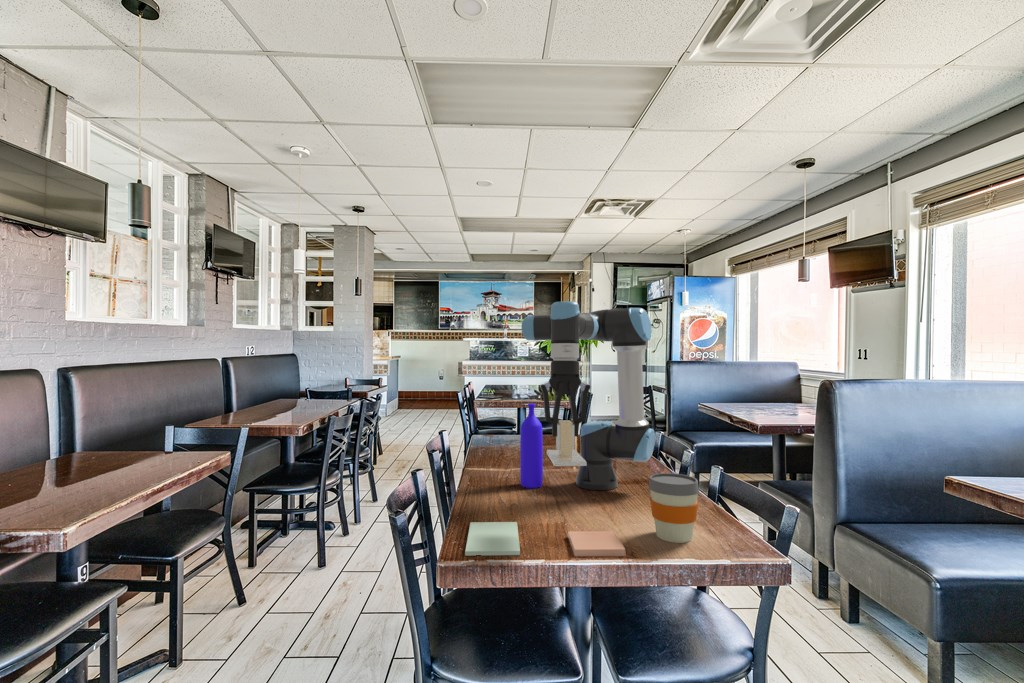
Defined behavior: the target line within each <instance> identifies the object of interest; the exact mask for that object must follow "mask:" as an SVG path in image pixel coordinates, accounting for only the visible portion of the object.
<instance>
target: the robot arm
mask: <svg viewBox="0 0 1024 683" xmlns="http://www.w3.org/2000/svg"><path fill="white" fill-rule="evenodd" d="M521 322H522V323H521V333H522V336H523V337H524V339H525V340H527V341H534V342H535V341H536V342H537V341H550V359H552V361H550V377H549V379H548V381H547V382H545V383H542V384H540V386H539V388H540V390H541V392H542V399H543V409H544V410H543V411H544V420H545V421H546V422H547V423H550V424H551V435H552V437H555V450H560V424H559V415H560V408H561V401H562V397H563V396H564V395H567V397H568V400H569V408H570V413H571V415H570V416H571V420H572V450H575V437H580V439H579V440H580V455H581V456H582V458H583V459H584V460H585V461H586V462H587V466H578V467H579V468H578V470H577V474H576V477H575V483H576V484H575V485H576V486H577V487H579V488H582V489H584V490H585V489H586V490H591V491H592V490H593V491H608V490H614V489H616V488H617V487H618V485H619V484H618V478H617V474H616V471H615V468H614V463H613V459H614V460H623V461H624V460H625V461H629V462H631V461H632V462H634V463H636V462H643V463H645V462H647V461H649V460H650V459H651V457H652V456H653V452H654V450H655V442H656V433H655V430H654V429H653V428H650V423H649V421H648V420H647V419H646V418H645V409H644V408H645V404H644V403H645V402H644V401H645V400H644V379H643V378H644V374H643V350H644V349H645V348H646V347H647V342H648V341H650V340H651V339H652V331H653V330H652V325H651V324H652V323H651V320H650V317H649V314H648V312H647V311H646V310H645V309H644V308H642V307H626V308H612V309H610V308H609V309H599V310H595V311H589V312H581V311H580V305H579V303H578V302H577V301H567V300H565V301H563V300H562V301H555V302H553V303H552V304H551V306H550V314H541V315H540V314H539V315H538V314H537V315H529V316H525V317H524V318H523V319H522V321H521ZM580 340H581V341H586V340H588V341H596V342H597V341H599V342H612V344H611V345H612V348H613V349H615V351H616V356H617V357H616V358H617V359H616V360H617V362H616V363H617V382H618V383H617V386H618V389H617V390H618V391H617V392H618V413H619V415H618V416H619V418H618V419H617V420H616V421H615V422H614V424H615V425H614V424H613V422H612V421H608V420H607V421H604V420H603V421H594V422H587V423H585V422H586V418H587V417H586V416H587V404H588V403H587V402H588V393H589V392H590V389H591V384H586V383H585V382H582V380H581V377H580V362H579V360H578V359H579V358H580ZM579 387H580V391H581V392H580V401H579V402H580V404H579V405H580V406H579V414H578V408H577V404H576V403H577V402H576V395H575V393H576V391H577V390H578V388H579ZM550 388H552V390H553V391H554V392H555V394H554V395H555V396H554V404H553V411H552V416H551V409H550V408H551V407H550V397H549V391H550ZM580 423H583V424H582V425H581V426H580V436H579V424H580Z"/></svg>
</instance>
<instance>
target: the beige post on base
mask: <svg viewBox="0 0 1024 683" xmlns="http://www.w3.org/2000/svg"><path fill="white" fill-rule="evenodd" d="M572 423H573V421H571V420H562V419H561V420H559V419H558V424H560V450H557V449H546V455H547V456H548V458H549V459H550V461H551V463H552V465H553V466H554V467H580V466H587V462H586V461H585V460H584V459H583V458H582V456H581V453H579V452H578V451H577V450H576V449H574V450H572Z"/></svg>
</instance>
